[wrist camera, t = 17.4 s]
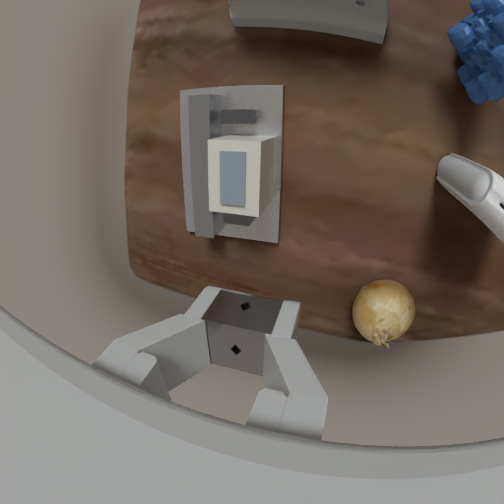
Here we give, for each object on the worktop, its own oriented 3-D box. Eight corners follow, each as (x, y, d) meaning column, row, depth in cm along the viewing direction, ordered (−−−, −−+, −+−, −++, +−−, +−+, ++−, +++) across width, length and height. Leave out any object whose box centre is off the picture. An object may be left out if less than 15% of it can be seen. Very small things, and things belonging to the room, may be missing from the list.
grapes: (427, 2, 16) (461, -43, 6) (479, 22, 15) (529, -6, 4) (427, 92, 22) (474, 82, 12) (480, 111, 20) (540, 116, 10)
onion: (342, 284, 35) (340, 320, 29) (400, 260, 31) (410, 294, 25) (365, 328, 37) (365, 366, 31) (417, 308, 33) (426, 345, 27)
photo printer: (504, 198, 23) (560, 242, 13) (487, 226, 25) (535, 280, 15) (447, 145, 24) (502, 167, 13) (429, 177, 26) (473, 214, 15)
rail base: (284, 86, 26) (276, 82, 23) (279, 240, 35) (271, 254, 31) (183, 90, 29) (165, 89, 26) (190, 228, 38) (175, 240, 34)
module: (276, 136, 28) (260, 141, 23) (273, 199, 32) (257, 218, 26) (231, 134, 30) (206, 140, 24) (231, 194, 33) (207, 212, 28)
